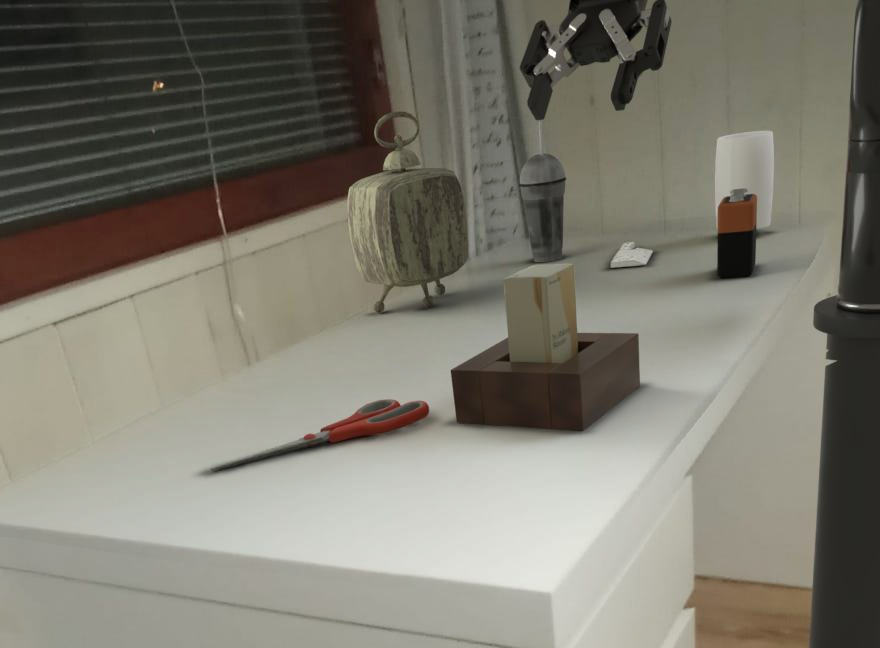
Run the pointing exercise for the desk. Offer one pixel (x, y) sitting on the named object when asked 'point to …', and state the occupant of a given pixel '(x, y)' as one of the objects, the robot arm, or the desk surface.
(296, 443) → the scissors
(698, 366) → the desk surface
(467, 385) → the holder
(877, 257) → the robot arm
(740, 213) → the battery
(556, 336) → the cosmetic box
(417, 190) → the tabletop clock
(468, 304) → the desk surface
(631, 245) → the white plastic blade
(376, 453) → the desk surface
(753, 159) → the cup
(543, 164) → the beverage cup
